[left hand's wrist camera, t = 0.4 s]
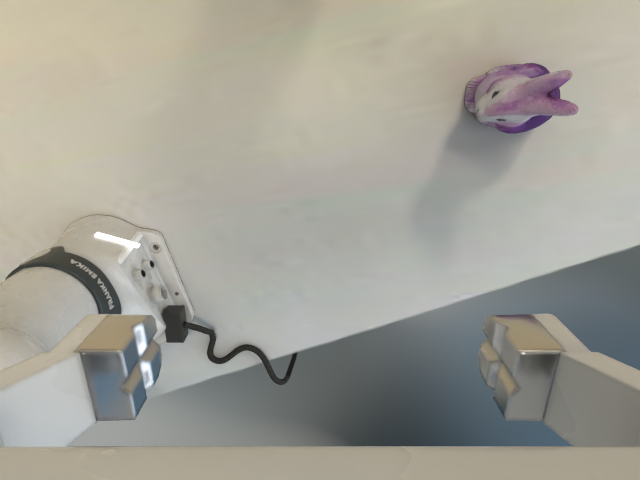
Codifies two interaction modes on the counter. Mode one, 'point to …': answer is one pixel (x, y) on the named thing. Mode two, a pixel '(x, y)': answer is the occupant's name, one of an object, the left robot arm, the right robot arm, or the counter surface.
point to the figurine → (518, 97)
